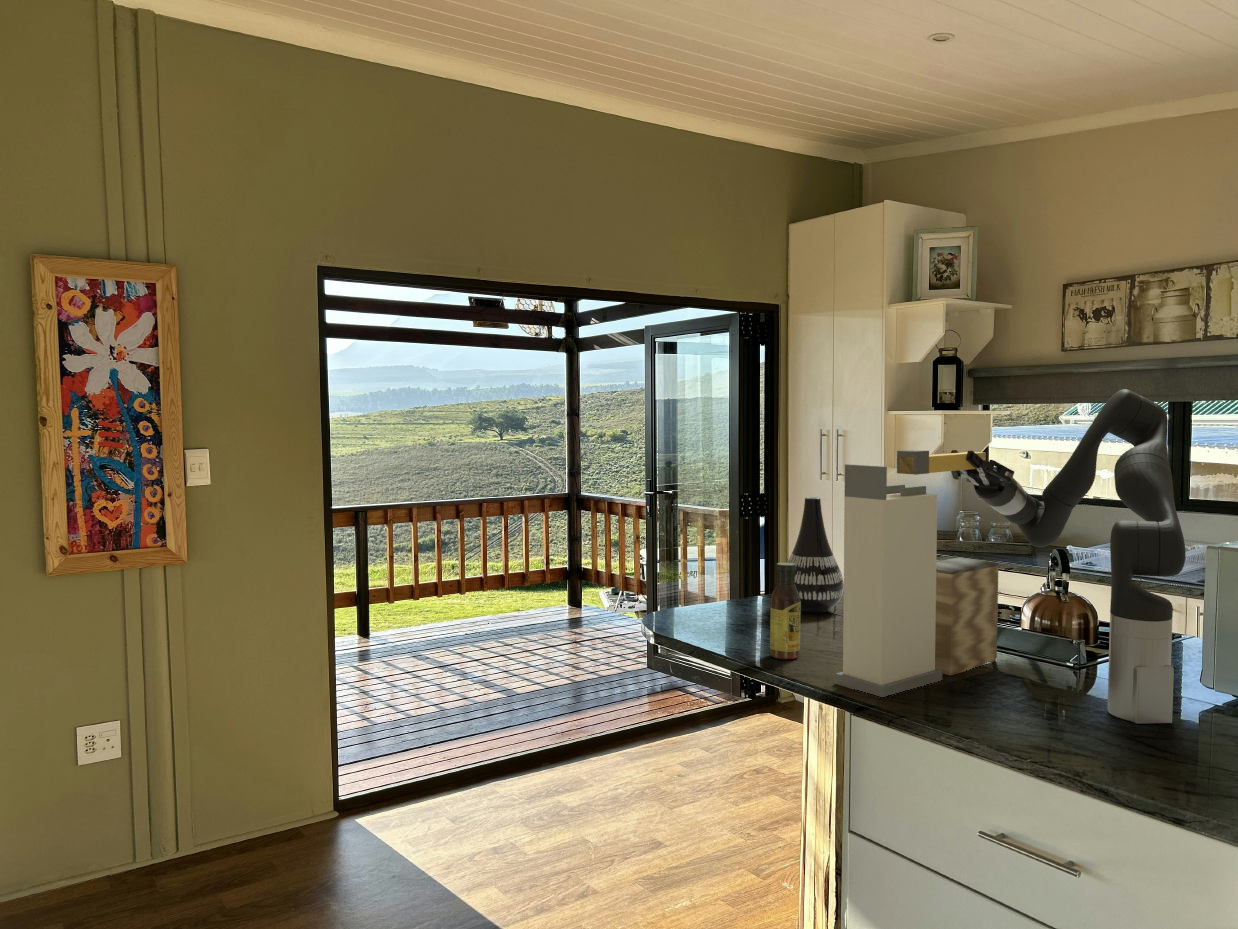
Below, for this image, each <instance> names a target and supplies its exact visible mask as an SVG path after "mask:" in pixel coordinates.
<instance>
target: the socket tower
mask: <svg viewBox="0 0 1238 929" xmlns="http://www.w3.org/2000/svg"><path fill="white" fill-rule="evenodd" d="M887 470H888V468H887V466H882V465H881V466H880V465H867V464H866V465H864V464H849V463H848V464H844V507H843V508H844V509H843V511H844V512H843V513H844V515H843V516H844V518H843V520H844V521H843V523H844V526H843V527H844V528H843V530H844V532H843V583H844V590H843V619H842V620H843V621H842V622H843V627H842V628H843V629H842V630H843V632H842V636H843V638H842V639H843V640H842V642H843V644H842V645H843V646H842V647H843V649H842V651H843V652H842V671H841V672H836V673H835V680H834V681H835V683H834V684H835V685H838V686H842V687H843V688H844V687H845V688H848V689H852V690H854V689H855V690H854V691H857V690H859V691H858V692H860V691H863V692H862V693H864V692H866V693H865V694H867V693H870V694H874V695H877V696H880V697H885V696H888V695H891V694H895V693H899V692H902V691H905V690H909V691H910V689H912V690H914V689H913V688H915V689H918V688H917V687H919V688H921V687H920V686H922V687H924V685H925V686H927V685H926V684H929V685H931V684H930V683H932V684H934V683H933V682H935V683H939V682H941V680H942V681H943V674H942V670H940V669H936V668H935V626H936V561H937V550H938V548H937V546H938V543H937V542H938V540H937V539H938V538H937V537H938V494H936V493H927V486H925V485H920V486H912V487H910V486H909V487H906V484H892V485H888V484H887V483H888V482H887V481H888V476H887V474H888V471H887ZM938 681H939V682H938ZM905 692H906V691H905ZM902 693H903V692H902ZM870 694H869V695H870ZM899 694H900V693H899ZM895 695H896V694H895ZM877 696H876V697H877ZM880 697H879V698H880ZM885 698H886V697H885Z"/></svg>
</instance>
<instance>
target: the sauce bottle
mask: <svg viewBox="0 0 1238 929" xmlns="http://www.w3.org/2000/svg"><path fill="white" fill-rule="evenodd" d="M775 565H776V573H777V574H776V577H777V578H776V586H775V588H774V589H773V591H772V592H771V600H770V601H771V605H770V616H769V617H770V620H769V621H770V622H769V625H770V626H769V627H770V628H769V630H770V631H769V634H770V635H769V636H770V637H769V648H770V655H771V657H772V658H774V659H779V660H794V659H797V658H799V655H800V650H801V612H800V610H801V601H800V598H799V595H798V592H797V589H796V586H795V571H796V564H794V563H787V562H777V563H776V564H775Z"/></svg>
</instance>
